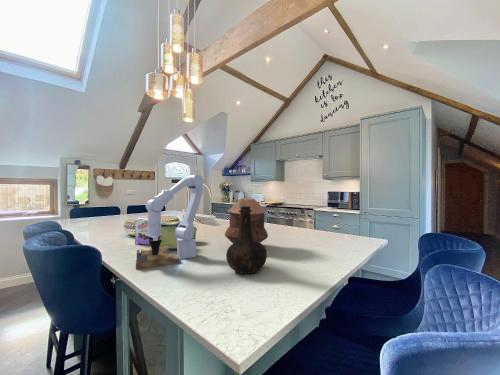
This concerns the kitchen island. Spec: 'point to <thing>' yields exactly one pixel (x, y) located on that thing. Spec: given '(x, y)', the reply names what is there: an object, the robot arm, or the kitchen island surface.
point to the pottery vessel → (256, 220)
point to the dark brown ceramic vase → (246, 247)
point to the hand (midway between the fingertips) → (154, 252)
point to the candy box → (141, 231)
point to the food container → (194, 233)
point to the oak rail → (161, 255)
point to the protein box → (169, 235)
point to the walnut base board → (158, 262)
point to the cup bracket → (141, 257)
